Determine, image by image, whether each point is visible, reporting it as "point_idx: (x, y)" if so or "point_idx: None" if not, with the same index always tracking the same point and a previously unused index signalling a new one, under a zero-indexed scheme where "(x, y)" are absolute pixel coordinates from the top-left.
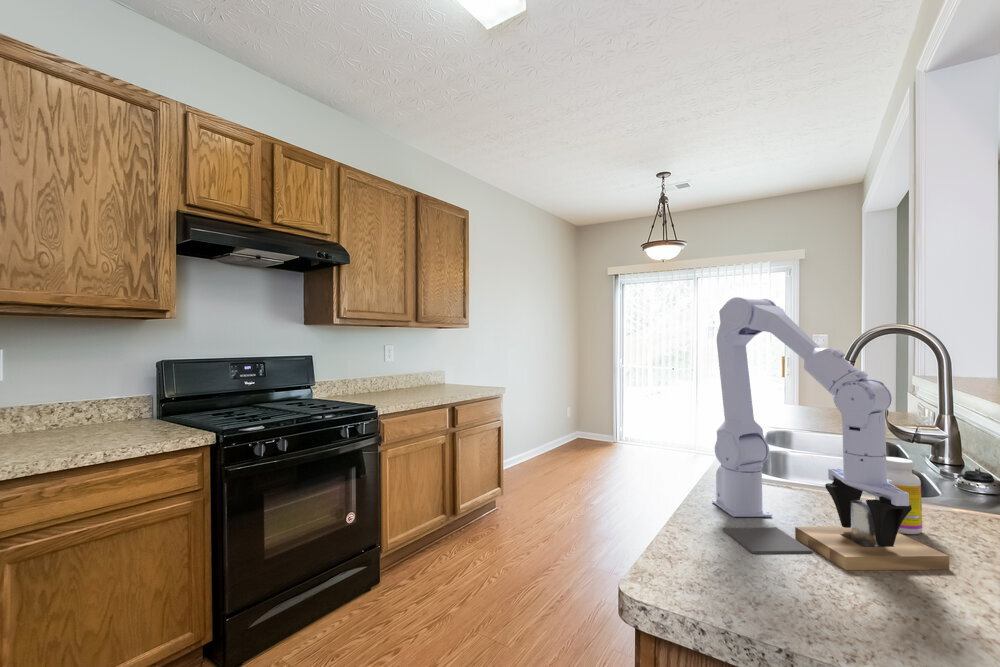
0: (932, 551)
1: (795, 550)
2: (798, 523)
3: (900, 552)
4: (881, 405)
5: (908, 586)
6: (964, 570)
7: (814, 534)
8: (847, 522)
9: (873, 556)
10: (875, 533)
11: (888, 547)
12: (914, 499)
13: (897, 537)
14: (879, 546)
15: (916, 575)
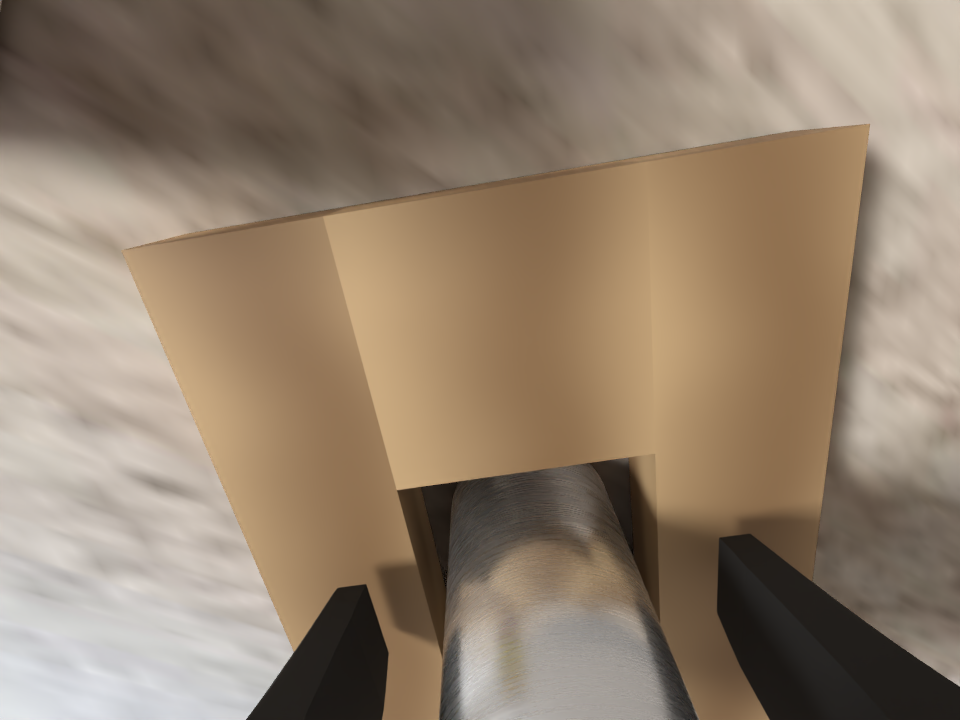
0: (757, 211)
1: None
2: (99, 649)
3: (755, 476)
4: None
5: (944, 532)
6: (817, 5)
7: None
8: (375, 677)
9: None
10: (769, 712)
11: (666, 503)
12: None
13: (439, 312)
14: (621, 528)
15: (841, 420)
